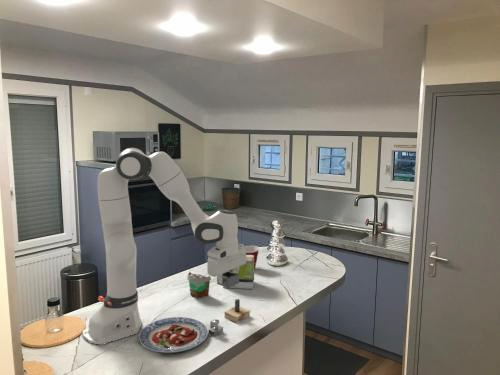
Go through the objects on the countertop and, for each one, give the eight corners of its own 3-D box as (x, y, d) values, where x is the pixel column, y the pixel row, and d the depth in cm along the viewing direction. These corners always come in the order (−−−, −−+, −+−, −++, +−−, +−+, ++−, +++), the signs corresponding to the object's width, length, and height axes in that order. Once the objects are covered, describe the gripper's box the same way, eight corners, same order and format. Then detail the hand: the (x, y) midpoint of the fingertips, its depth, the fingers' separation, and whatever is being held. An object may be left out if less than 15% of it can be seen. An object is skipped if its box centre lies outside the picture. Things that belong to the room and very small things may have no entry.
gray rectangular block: (216, 329, 162) (216, 325, 162) (210, 329, 162) (210, 326, 161) (216, 324, 166) (216, 321, 166) (210, 324, 165) (210, 321, 165)
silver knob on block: (213, 337, 156) (213, 324, 155) (208, 334, 158) (208, 322, 157) (223, 332, 159) (223, 320, 159) (217, 329, 161) (217, 317, 160)
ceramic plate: (177, 315, 173) (177, 309, 172) (221, 336, 157) (221, 329, 156) (125, 340, 153) (124, 332, 153) (169, 366, 137) (169, 358, 137)
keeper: (236, 322, 167) (236, 305, 166) (224, 317, 171) (224, 300, 170) (249, 316, 173) (249, 299, 171) (237, 310, 177) (237, 294, 176)
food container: (182, 295, 192) (181, 275, 191) (189, 290, 198) (189, 271, 196) (203, 300, 187) (203, 280, 185) (211, 296, 192) (211, 275, 190)
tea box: (254, 281, 210) (254, 254, 207) (252, 289, 200) (252, 261, 197) (225, 280, 211) (225, 253, 209) (222, 288, 201) (222, 259, 199)
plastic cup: (237, 266, 232) (237, 246, 230) (255, 264, 235) (256, 244, 233) (243, 273, 222) (243, 251, 220) (261, 271, 225) (262, 250, 223)
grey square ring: (228, 288, 166) (228, 278, 165) (217, 284, 170) (217, 275, 169) (239, 283, 170) (239, 274, 170) (228, 279, 175) (227, 270, 174)
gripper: (238, 241, 177) (239, 271, 180) (204, 252, 162) (205, 285, 164) (249, 243, 173) (250, 274, 176) (215, 256, 158) (216, 289, 160)
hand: (228, 280), depth 170 cm, fingers closed on grey square ring, 6 cm apart
